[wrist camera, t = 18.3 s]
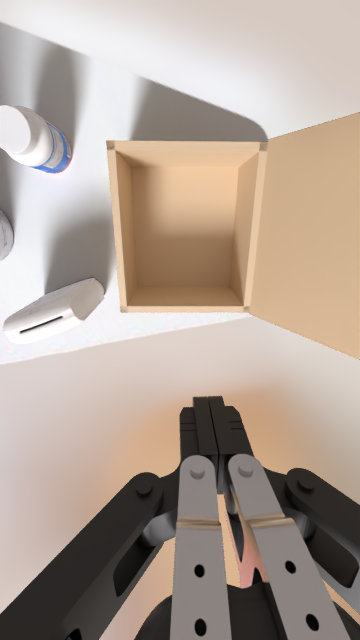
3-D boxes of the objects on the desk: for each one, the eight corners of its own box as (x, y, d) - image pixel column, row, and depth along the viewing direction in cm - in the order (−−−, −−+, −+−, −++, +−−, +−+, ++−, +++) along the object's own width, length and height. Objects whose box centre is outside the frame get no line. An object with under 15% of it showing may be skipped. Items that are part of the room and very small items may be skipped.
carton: (133, 291, 42) (120, 312, 32) (124, 160, 35) (106, 140, 26) (233, 291, 42) (249, 312, 33) (244, 161, 35) (268, 141, 26)
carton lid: (401, 377, 20) (433, 356, 23) (518, 64, 13) (543, 93, 16) (249, 313, 33) (282, 306, 36) (268, 139, 26) (307, 147, 29)
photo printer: (52, 318, 43) (8, 356, 32) (39, 295, 42) (-13, 325, 30) (109, 298, 42) (84, 329, 31) (97, 273, 41) (65, 296, 29)
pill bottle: (24, 154, 35) (-31, 133, 26) (43, 116, 33) (-7, 78, 24) (60, 183, 36) (21, 172, 27) (81, 147, 34) (46, 123, 25)
